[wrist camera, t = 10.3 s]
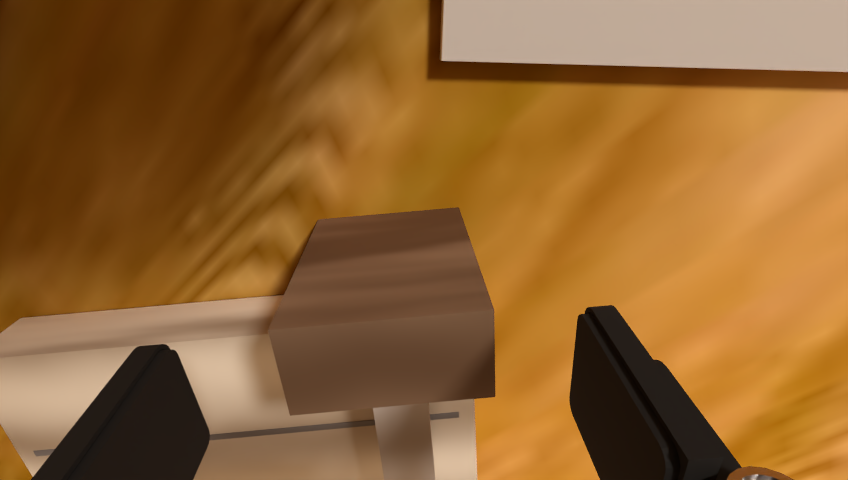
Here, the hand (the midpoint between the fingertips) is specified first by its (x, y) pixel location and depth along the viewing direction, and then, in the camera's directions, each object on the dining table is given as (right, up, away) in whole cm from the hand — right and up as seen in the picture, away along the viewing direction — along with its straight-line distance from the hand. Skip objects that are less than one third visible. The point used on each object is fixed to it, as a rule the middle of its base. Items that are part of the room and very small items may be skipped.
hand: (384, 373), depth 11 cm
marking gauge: (0, 0, +11) cm, 11 cm away
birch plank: (-7, -4, +12) cm, 14 cm away
